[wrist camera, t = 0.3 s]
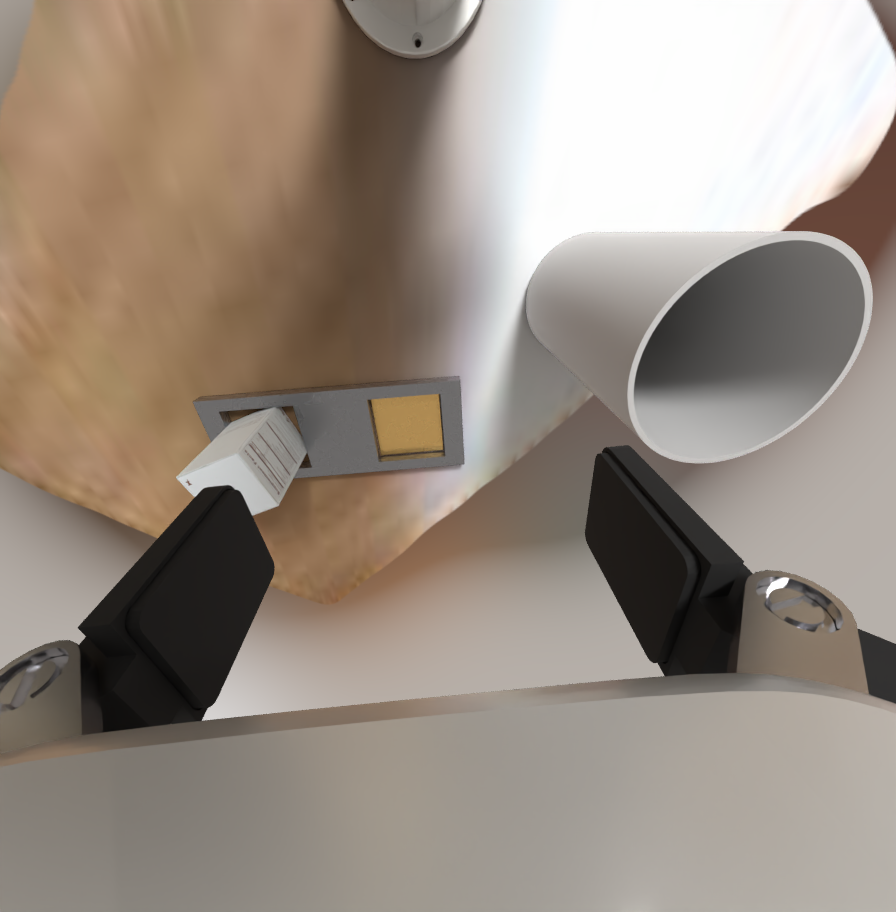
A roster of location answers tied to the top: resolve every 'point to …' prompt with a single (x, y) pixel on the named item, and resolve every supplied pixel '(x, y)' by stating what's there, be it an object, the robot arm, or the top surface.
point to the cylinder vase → (704, 330)
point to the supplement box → (250, 459)
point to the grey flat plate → (361, 423)
